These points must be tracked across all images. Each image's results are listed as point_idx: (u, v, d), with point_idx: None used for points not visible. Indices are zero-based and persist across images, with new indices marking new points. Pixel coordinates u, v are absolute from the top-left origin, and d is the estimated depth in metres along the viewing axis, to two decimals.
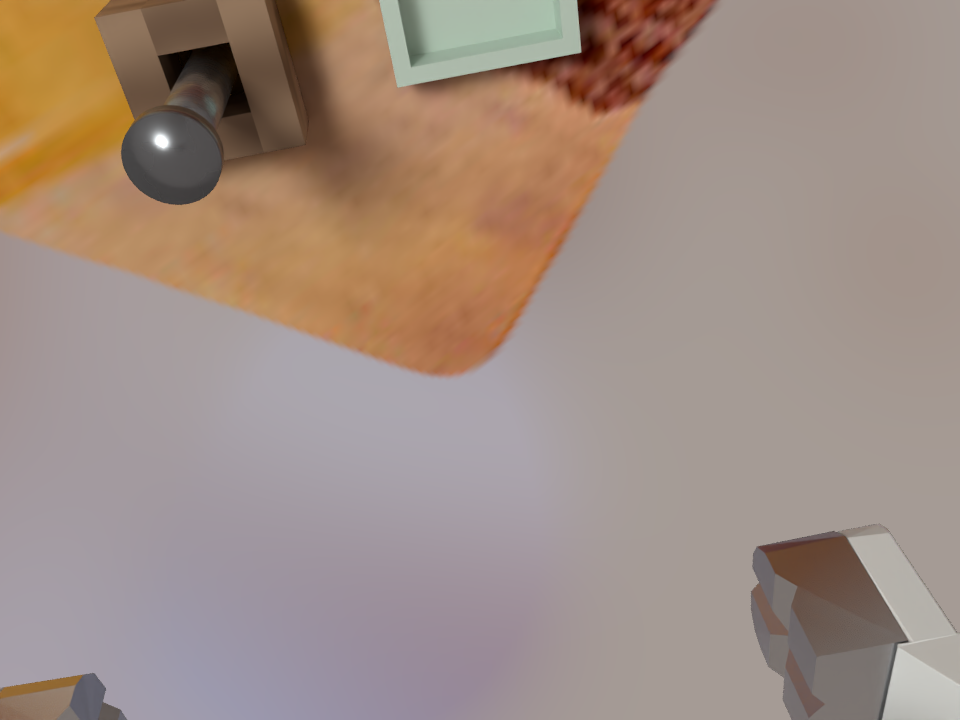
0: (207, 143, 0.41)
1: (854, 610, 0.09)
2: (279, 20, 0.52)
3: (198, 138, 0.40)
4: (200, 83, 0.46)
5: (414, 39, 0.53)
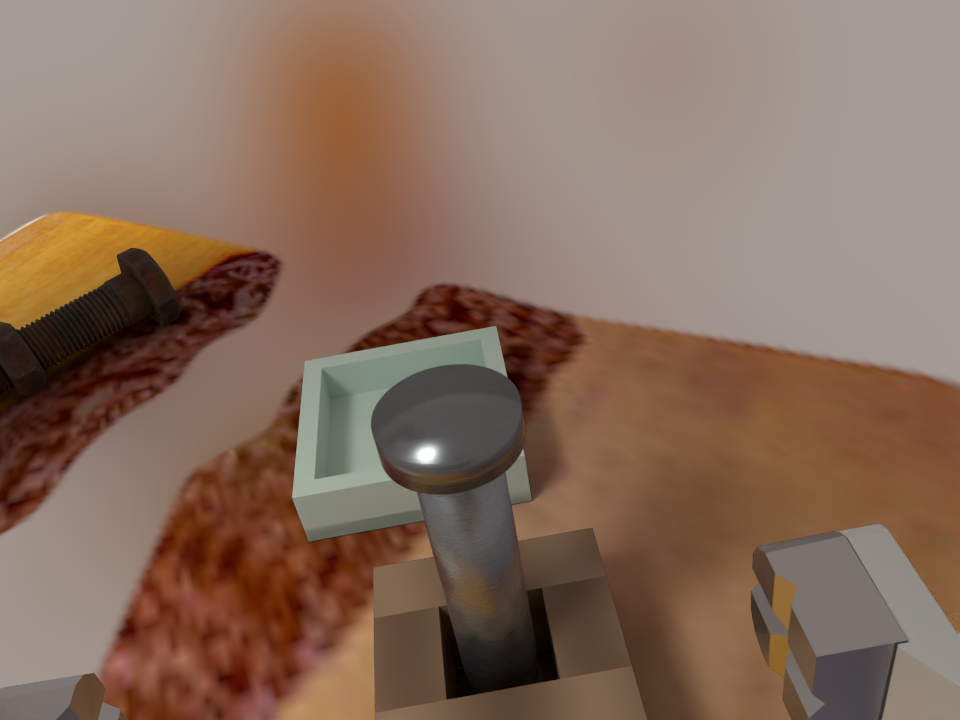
0: (425, 375, 0.27)
1: (854, 610, 0.09)
2: None
3: (416, 383, 0.27)
4: None
5: None
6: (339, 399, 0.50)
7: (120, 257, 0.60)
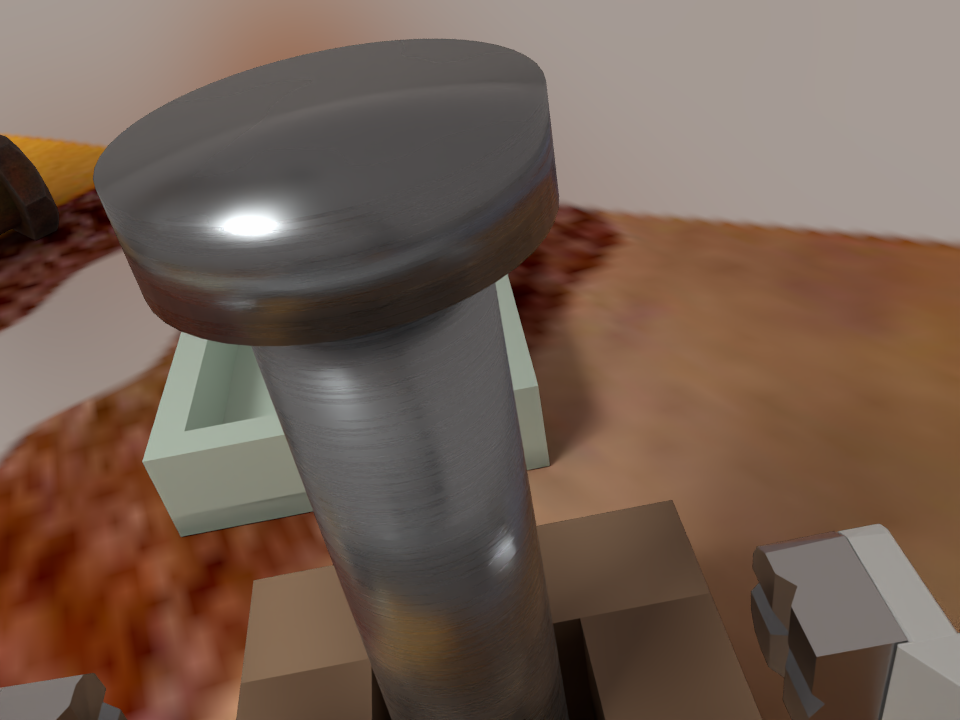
0: (286, 67, 0.10)
1: (854, 610, 0.09)
2: None
3: (258, 80, 0.10)
4: None
5: None
6: None
7: None
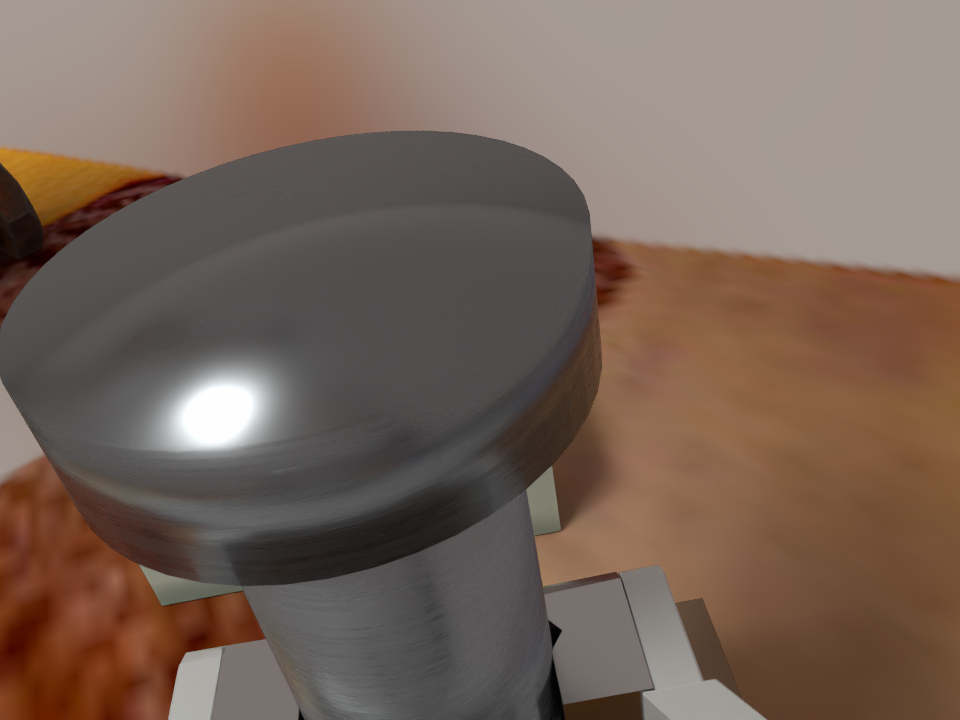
0: (259, 166, 0.08)
1: (610, 656, 0.09)
2: None
3: (223, 185, 0.08)
4: None
5: None
6: None
7: None
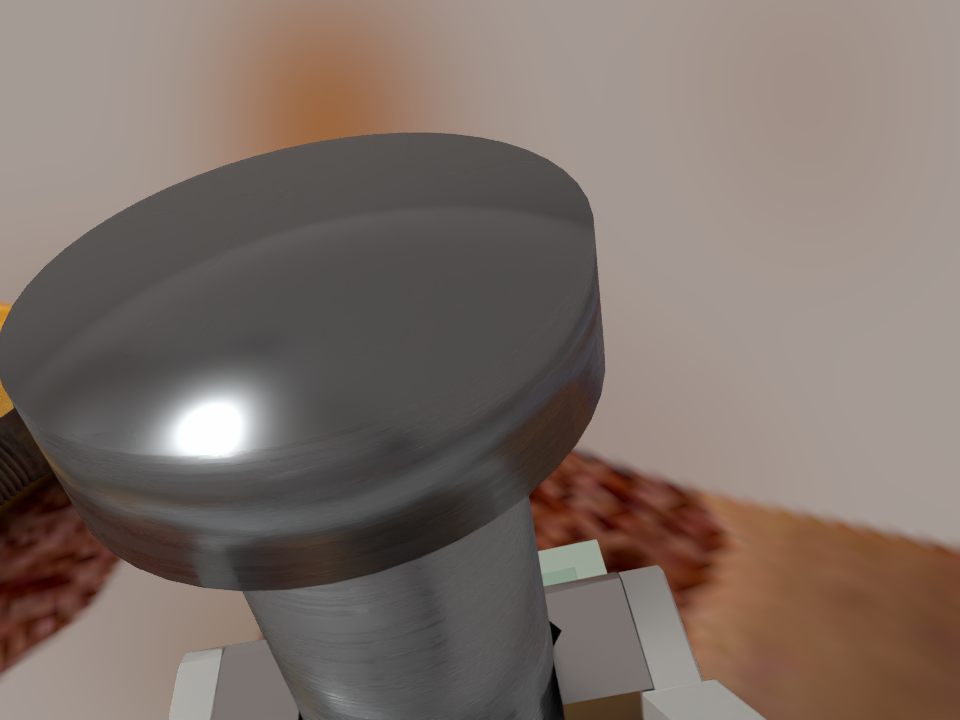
0: (261, 167, 0.08)
1: (610, 656, 0.09)
2: None
3: (225, 187, 0.08)
4: None
5: None
6: None
7: None
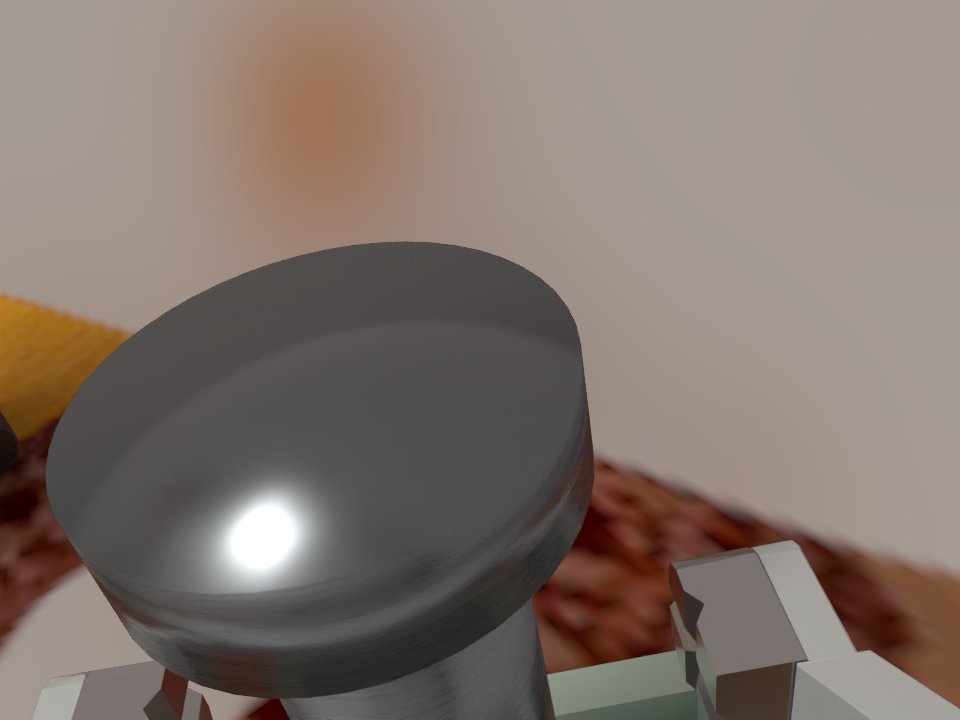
0: (277, 277, 0.09)
1: (758, 628, 0.09)
2: None
3: (244, 299, 0.09)
4: None
5: None
6: None
7: None
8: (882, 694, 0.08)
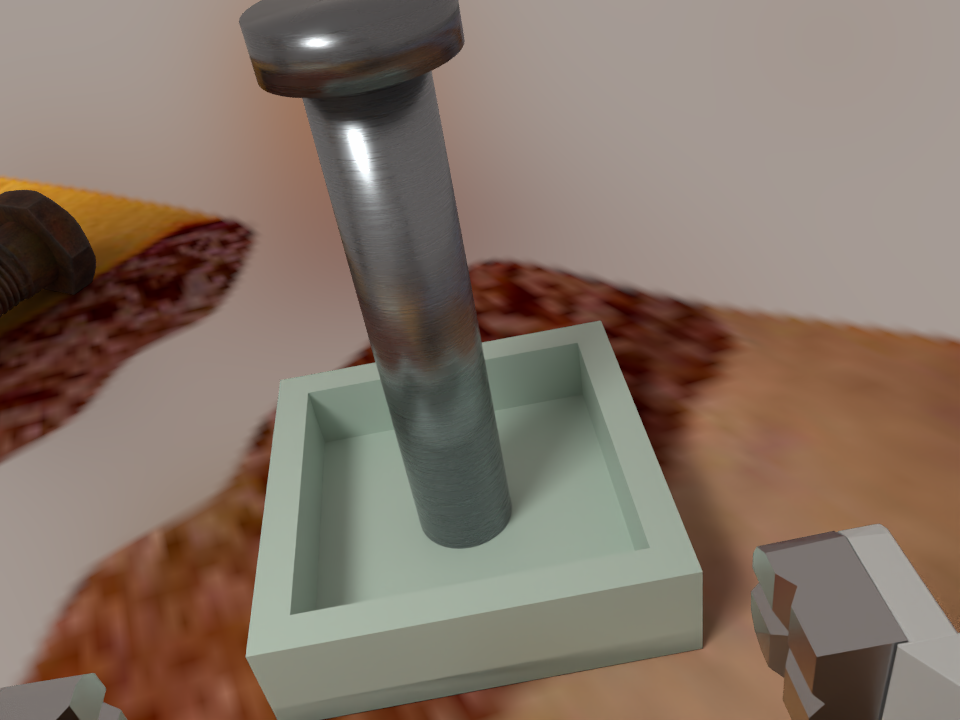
0: None
1: (854, 610, 0.09)
2: None
3: None
4: None
5: None
6: (338, 444, 0.30)
7: None
8: None
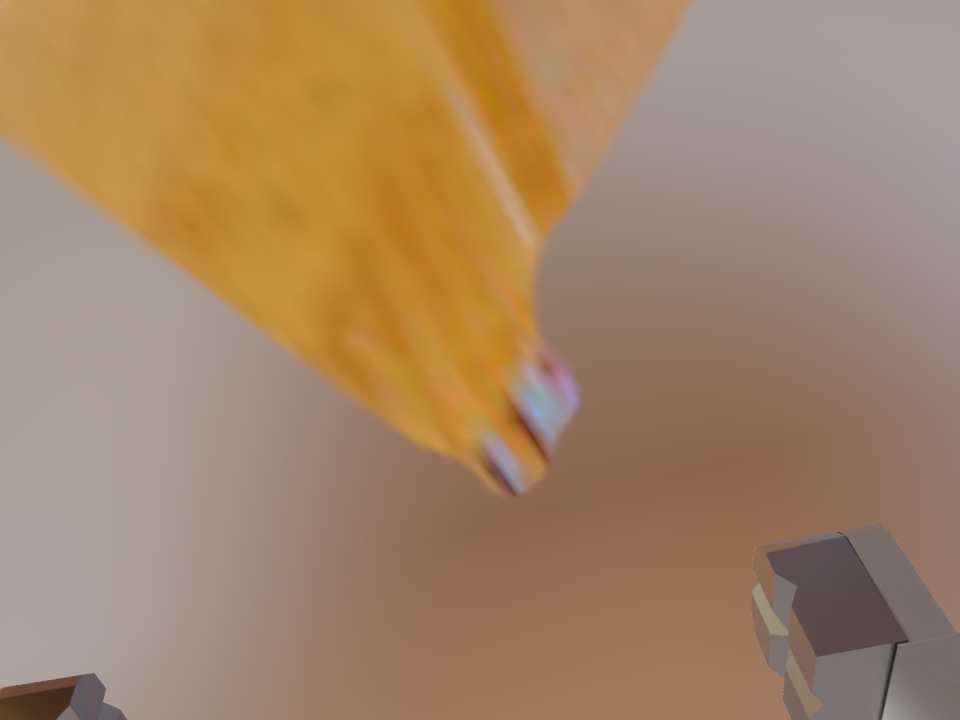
0: None
1: (854, 610, 0.09)
2: None
3: None
4: None
5: None
6: None
7: None
8: None
